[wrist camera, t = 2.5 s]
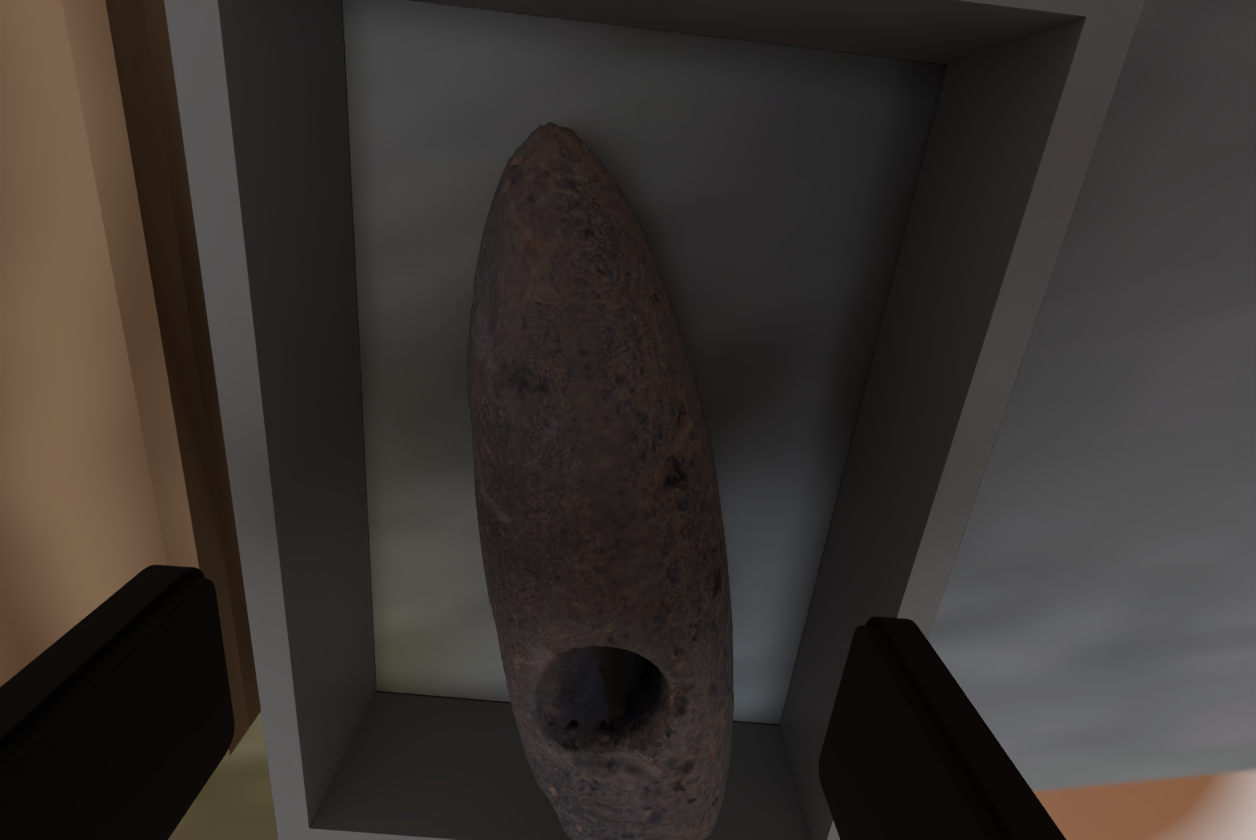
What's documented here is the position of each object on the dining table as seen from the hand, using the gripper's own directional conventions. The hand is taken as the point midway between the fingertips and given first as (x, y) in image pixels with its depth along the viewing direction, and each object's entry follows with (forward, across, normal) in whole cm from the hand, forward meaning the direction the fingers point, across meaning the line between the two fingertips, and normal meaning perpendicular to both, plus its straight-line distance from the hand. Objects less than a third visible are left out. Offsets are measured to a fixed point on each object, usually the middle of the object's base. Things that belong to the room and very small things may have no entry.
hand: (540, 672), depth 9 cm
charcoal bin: (+8, -1, 0) cm, 8 cm away
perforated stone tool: (+8, -1, 0) cm, 9 cm away
